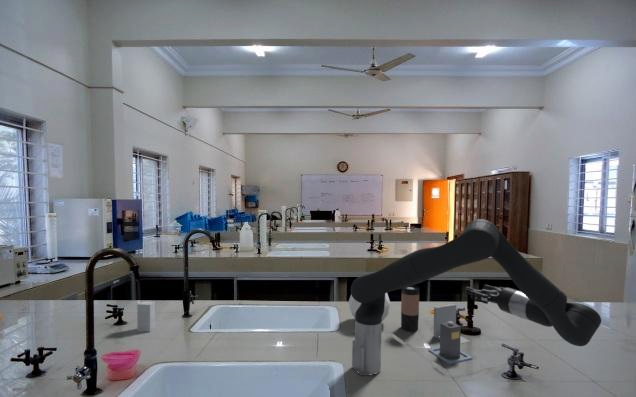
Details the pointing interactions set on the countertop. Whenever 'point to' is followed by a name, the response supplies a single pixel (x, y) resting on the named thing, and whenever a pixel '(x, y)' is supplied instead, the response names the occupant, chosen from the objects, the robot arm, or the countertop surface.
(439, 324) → the bay
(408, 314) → the travel mug
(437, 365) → the countertop surface
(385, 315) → the polyhedron
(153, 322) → the skincare box
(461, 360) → the blue-grey square frame
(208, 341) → the countertop surface
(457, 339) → the grey box bottle
